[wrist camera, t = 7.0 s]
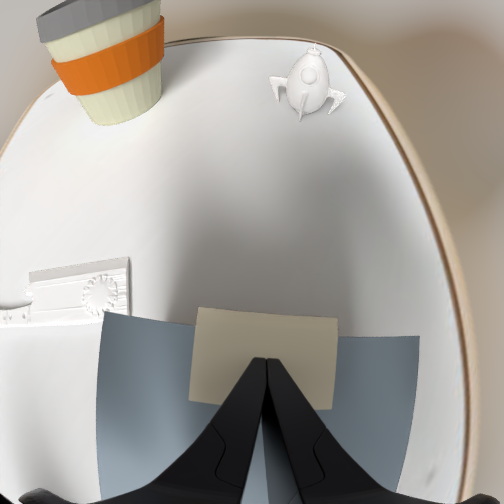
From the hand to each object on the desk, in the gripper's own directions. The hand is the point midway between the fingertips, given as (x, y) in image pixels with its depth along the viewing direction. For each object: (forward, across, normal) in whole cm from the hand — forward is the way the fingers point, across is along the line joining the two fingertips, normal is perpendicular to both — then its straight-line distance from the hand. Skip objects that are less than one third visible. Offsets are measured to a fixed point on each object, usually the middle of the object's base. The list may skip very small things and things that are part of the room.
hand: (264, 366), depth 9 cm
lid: (0, 0, +4) cm, 4 cm away
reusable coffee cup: (+23, +17, -12) cm, 31 cm away
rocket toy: (+22, -3, -12) cm, 25 cm away
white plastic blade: (+7, +16, +4) cm, 18 cm away
